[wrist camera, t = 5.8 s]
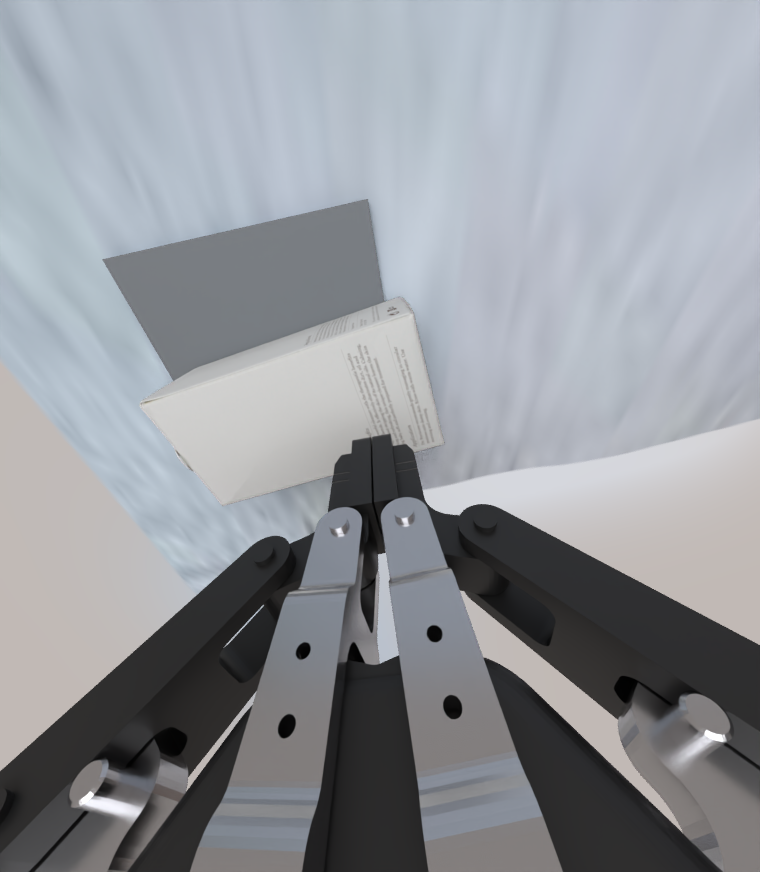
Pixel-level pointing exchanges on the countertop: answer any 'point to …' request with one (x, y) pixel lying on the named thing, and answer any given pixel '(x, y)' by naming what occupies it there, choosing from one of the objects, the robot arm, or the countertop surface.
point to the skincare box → (300, 403)
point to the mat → (250, 284)
